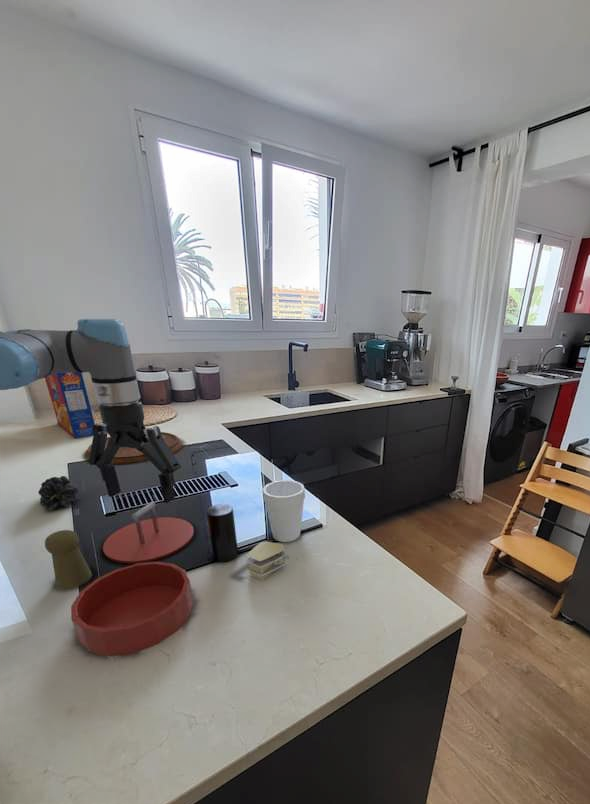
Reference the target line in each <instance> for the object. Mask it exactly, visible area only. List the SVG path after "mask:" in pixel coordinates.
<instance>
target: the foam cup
mask: <svg viewBox="0 0 590 804" xmlns="http://www.w3.org/2000/svg"><path fill="white" fill-rule="evenodd" d="M262 494H263V496H262V497H263V502H264V504H265V507H266V511H267V515H268V520H269V525H270V529H271V534H272V538H273V539H274V540H275V541H277V542H281V543H289V542H293V541H295V540H297V539H299V537H300V536H301V532H302V531H301V530H302V521H303V520H302V519H303V512H304V502H305V498H306V489H305V486H304V484H303V483H302V482H299V481H296V480H292V479H281V480H276V481H275V480H274V481H271V482H269V483H267V484H265V486H264V487H263V488H262Z"/></svg>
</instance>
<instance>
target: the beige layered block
mask: <svg viewBox="0 0 590 804" xmlns="http://www.w3.org/2000/svg"><path fill="white" fill-rule="evenodd" d="M245 556H246V557H248V558H247V559H246V561H245V562H246V563H248V568H246V569H247V571H248V572H249V576H251V577H253V578H256V579H258V580H260V581H264V580H265V579H267V577H269V576H270V575H272V573H274V572H275V570H278V569H280V568H282V567H283V566H284V565H286V560H285V556H286V554H285V546H284V544H282V543H278V542H271V541H261V542H260V543H257V544H256V545H255V546H254V547H253V548H252V549H251V550H250V551H248V552H247V553H246V555H245Z"/></svg>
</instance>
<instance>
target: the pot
mask: <svg viewBox="0 0 590 804" xmlns="http://www.w3.org/2000/svg"><path fill="white" fill-rule="evenodd" d="M193 605H194V596H193V592H192V585H191V581H190V578H189V576H188V574H187V572H186V570H185V569H183V568H181V567H180V566H178V565H176V564H175V563H170V562H162V561H149V562H143V563H133V564H131V565H127V566H123V567H120V568H116V569H115V570H112V571H110V572H108V573H106V574H104V575H102V576H100V577H98V578H96V579H95V580H93V581H91V583H89V584H88V585H87V586H86V587H84V588H83V589H82V590H81V591H80V592H79V593H78V594H77V596H76V598H75V599H74V601H73V602H72V604H71V605H70V610H71V611H70V613H71V614H70V615H71V617H70V620H71V622H72V625H73V628H74V630H75V633H76V636H77V639H78V642H79V643H80V644H81V645H82V646H83V647H84V648H85V649H86V650H87V651H89V652H90V653H92V654H97V655H100V656H106V657H107V656H109V657H114V656H123V655H130V654H135V653H138V652H140V651H143V650H146V649H149V648H151V647H154V646H156V645H158V644H160V643H161V642H163V641H165V640H166V639H168V638H169V637H171V636H172V635H173V634H175V633H176V632H177V631H179V630H180V628H181V627H183V625H184V624H185V623H186V621H187V620H188V618H189V617H191V613H192V610H193Z"/></svg>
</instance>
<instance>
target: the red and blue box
mask: <svg viewBox="0 0 590 804" xmlns="http://www.w3.org/2000/svg"><path fill="white" fill-rule="evenodd" d="M44 380H45V384H46V386H47V390H48V394H49V397H50V400H51V404H52V408H53V411H54V415H55V418H56V421H57V424H58V426H60V427H61V428H62V429H63V430H64V431H65V432H66V433H68V434H69V435H70V436H71V437H72V438H73V439H75V440H76V439H83V438H88V437H93V436H94V434H93V428H92V426H93V425H95V424H96V422H95V419H94V415H93V411H92V408H91V403H90V399H89V396H88V391H87V388H86V383H85V380H84V377H83V373H80V372H75V373H56V374H53V375H50V376H47V377H45V378H44Z"/></svg>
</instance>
